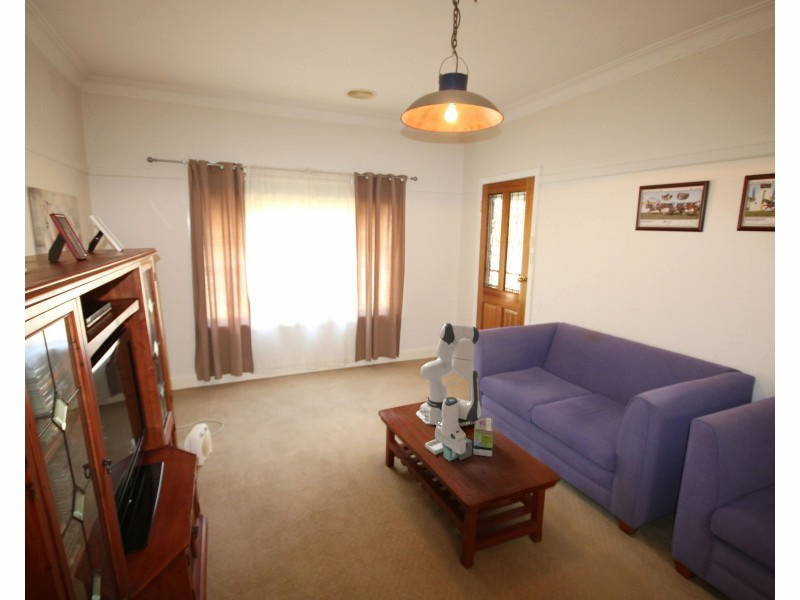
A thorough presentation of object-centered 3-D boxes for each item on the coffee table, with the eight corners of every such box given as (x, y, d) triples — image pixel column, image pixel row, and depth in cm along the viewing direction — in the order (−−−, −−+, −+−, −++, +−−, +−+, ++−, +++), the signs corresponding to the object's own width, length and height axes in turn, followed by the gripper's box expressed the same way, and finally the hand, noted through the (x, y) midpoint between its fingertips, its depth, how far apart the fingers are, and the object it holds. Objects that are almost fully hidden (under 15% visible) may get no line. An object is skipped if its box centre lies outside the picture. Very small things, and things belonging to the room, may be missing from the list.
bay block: (447, 451, 212) (448, 437, 211) (458, 446, 217) (459, 432, 215) (460, 460, 204) (461, 445, 203) (471, 455, 209) (472, 441, 207)
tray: (424, 447, 216) (424, 443, 215) (439, 441, 222) (439, 437, 221) (434, 454, 209) (435, 450, 208) (450, 448, 215) (450, 444, 214)
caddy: (443, 456, 207) (443, 444, 206) (454, 452, 211) (455, 440, 210) (449, 461, 203) (449, 448, 202) (460, 456, 208) (461, 443, 206)
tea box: (492, 457, 207) (493, 431, 204) (473, 454, 209) (474, 429, 206) (491, 442, 222) (493, 417, 219) (473, 440, 224) (474, 415, 221)
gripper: (432, 422, 210) (431, 446, 212) (458, 439, 193) (458, 465, 196) (441, 419, 213) (440, 443, 216) (468, 435, 197) (467, 460, 199)
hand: (449, 453), depth 205 cm, fingers closed on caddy, 5 cm apart
